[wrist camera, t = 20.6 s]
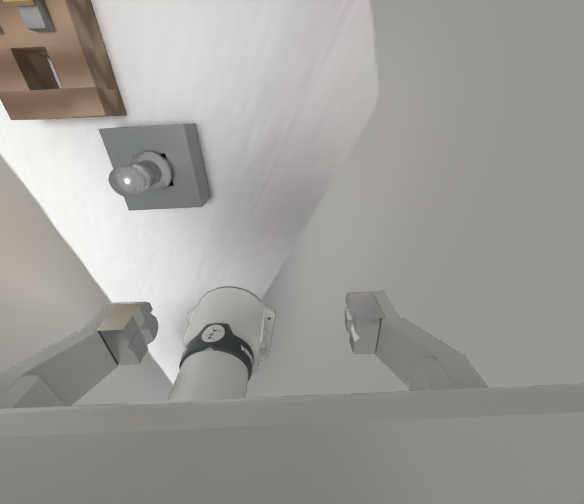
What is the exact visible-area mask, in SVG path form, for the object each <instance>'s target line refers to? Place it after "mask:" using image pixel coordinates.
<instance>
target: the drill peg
mask: <svg viewBox="0 0 584 504" xmlns="http://www.w3.org/2000/svg"><path fill="white" fill-rule="evenodd" d="M172 180H173V170H172V167H171V165H170V163H169V162H168V160H167V158H166V154H162V155H161V154H159V153H157V152H154V151H143V152H139V153H137V154H135V155H134V156H133V157H132V158H131V160H130V164H129V165H127V166H123V167H120V168H117V169H114V170H112V171H111V173H110V175H109V182H110V185H111V187H112V188H113V189H114V190H115V191H116V192H117V193H118V194H120V195H122V196H125V197H131V196H134V195H136V194H138V193H140V192H142V191H144V190H148V191H153V192H156V191H161V190H163V189H165V188H166V187H168V186H169V185H170V184H171V182H172Z"/></svg>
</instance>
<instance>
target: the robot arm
mask: <svg viewBox="0 0 584 504" xmlns="http://www.w3.org/2000/svg"><path fill="white" fill-rule="evenodd" d="M346 304H347V307H346V309H345V325H346V329H347V332H348V333H349V334H350V344H351V347H352V350H353V354H375V355H376V356H377V357H378V358H379V359H380V360H381V361H382V362H383V363H384V364H385V365H386V366H387V367H388V368H389V369H390V370H391V371H392V372H393V373H394V374H395V375H396V376H397V377H398V378H399V379H400V380H401V381H402V382H403V383H404V384H405V385H406V386H407V387H408V388H409V391H399V392H375V393H351V394H329V395H308V396H307V395H305V396H283V397H259V398H246V390H247V383H248V381H249V379H250V377H251V375H252V373H254V372H256V371H257V370H258V366H259V361H262V360H264V359H266V358H268V356H269V351H270V344H271V339H272V332H273V326H274V320H275V314H276V312H275V310H274V309H273V308H271V307H269V306H267V305H265V304H263V303H262V302H261V301H260V300H259V299H257V298H256V297H255V296H254V295H252V294H251V293H249V292H247V291H244V290H242V289H238V288H229V287H227V288H219V289H215V290H212V291H210V292H209V293H207V294H206V295H204V296H203V297H202V299H201V300H200V302H199V304H198V305H197V307H196V308H194V309H193V310H191V311H190V312H189V313H188V315H187V320H188V321H189V323H190V324H189V326H188V329H187V332H186V335H185V338H184V341H183V345H185V348H186V349H185V350H184V352H183V355H182V358H181V362H180V366H179V369H180V371H179V373H178V376H177V378H176V380H175V383H174V385H173V387H172V390H171V392H170V395H169V397H168V400H167V401H165V402H143V403H119V404H96V405H73V404H74V403H75V402H76V401H77V400H78V399H80V398H81V397H82V396H83V395H84V394H86V393H87V392H88V391H89V390H90V389H92V388H93V387H94V386H95V385H96V384H98V383H99V382H100V381H101V380H102V379H103V378H104V377H106V376H107V375H108V374H109V373H111V372H112V371H113V370H114V369H115V368H116V367H118V365H127V364H140V362H141V361H142V359H143V357H144V356H145V354H146V352H147V351H148V346H147V345H148V344H149V343H151V342H152V341H153V340H154V339H155V337H156V335H157V331H158V321H157V319H156V317H155V316H153V315H152V314H151V312H152V310H153V309H152V307H151V305H150V303H148V302H122V303H121V302H118V303H109V304H107V305H105V307H103V309H102V310H101V311H100V312H99V313H98V314H97V315H96V316H95V317H94V318H93V319H92V320H91V321H90V322H89V323H88V324H87V325H86V326H85V327H84V328H83V329H82V330H81V331H80V332H76V333H74V334H72V335H70V336H68V337H66V338H64V339H62V340H61V341H59V342H57V343H55V344H53V345H51V346H49V347H48V348H46V349H44V350H42V351H41V352H38V353H37V354H35V355H33V356H31V357H29V358H27V359H25V360H24V361H22V362H20V363H18V364H16V365H14V366H12V367H11V368H9V369H7V370H5V371H3V372H1V373H0V504H584V383H583V384H560V385H537V386H517V387H516V386H515V387H495V388H494V387H492V388H489V387H488V386H487V385H486V383H485V382H484V381H483V379H482V378H481V377H480V375H479V374H478V372H477V371H476V370H475V369H474V367H473V366H472V364H471V363H470V362H469V360H468V359H467V358H466V356H465V355H463V354H461V353H460V352H458V351H456V350H455V349H453V348H452V347H450V346H448V345H447V344H445V343H444V342H442V341H441V340H439V339H437V338H436V337H434V336H433V335H431V334H429V333H428V332H426V331H424V330H423V329H421V328H420V327H418V326H416V325H415V324H413V323H412V322H410V321H408V320H407V319H405V318H400V317H399V315H398V313H397V311H396V310H395V308H394V306H393V304H392V303H391V301H390V299H389V297H388V296H387V294H386V292H385V291H383V290H381V291H371V292H354V293H353V292H352V293H347V294H346ZM268 317H270V318H268ZM72 405H73V406H72Z"/></svg>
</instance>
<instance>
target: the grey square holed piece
mask: <svg viewBox="0 0 584 504" xmlns="http://www.w3.org/2000/svg"><path fill="white" fill-rule="evenodd" d="M99 131H100V134H101V137H102V139H103V142H104V145H105V147H106V150H107V153H108V155H109V158H110V161H111V163H112V166H113V169H117V168H120V167H123V166H127V165H129V164H130V160H131V158H132V157H133V156H134V155H135V154H137V153H139V152H143V151H154V152H157V153H159V154H163V153H165V154H166V158H167V160H168V162H169V163H170V165H171V167H172V170H173V180H172V182H171V184H170V185H169V186H168V187H166V188H165V189H163V190H161V191H156V192H153V191H148V190H144V191H142V192H140V193H138V194H136V195H134V196H131V197H125V196H124V198H125V201H126V203H127V206H128V209H129V210H148V209H169V208H190V207H202V206H203V205H204V204H205V203H206V202H207V201H208V200H209V199H210V198H211V197H210V192H209V188H208V183H207V178H206V173H205V168H204V163H203V158H202V153H201V148H200V144H199V139H198V134H197V129H196V124H179V125H159V126H139V127H119V128H106V129H99Z"/></svg>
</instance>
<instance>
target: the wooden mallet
mask: <svg viewBox="0 0 584 504" xmlns="http://www.w3.org/2000/svg"><path fill="white" fill-rule="evenodd" d="M3 2H5V3H8V4H10V5H13V6H33V5H35V4H34V2H33V0H3Z"/></svg>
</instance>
